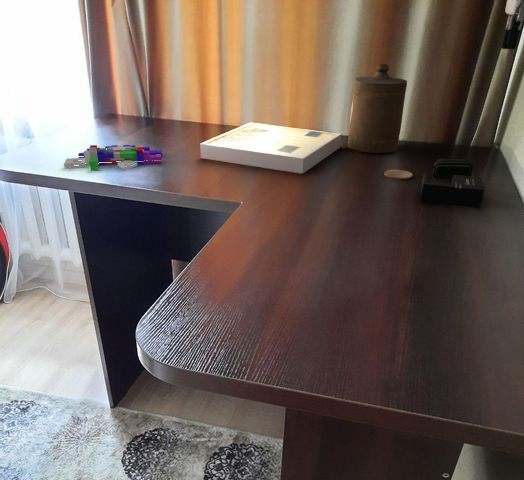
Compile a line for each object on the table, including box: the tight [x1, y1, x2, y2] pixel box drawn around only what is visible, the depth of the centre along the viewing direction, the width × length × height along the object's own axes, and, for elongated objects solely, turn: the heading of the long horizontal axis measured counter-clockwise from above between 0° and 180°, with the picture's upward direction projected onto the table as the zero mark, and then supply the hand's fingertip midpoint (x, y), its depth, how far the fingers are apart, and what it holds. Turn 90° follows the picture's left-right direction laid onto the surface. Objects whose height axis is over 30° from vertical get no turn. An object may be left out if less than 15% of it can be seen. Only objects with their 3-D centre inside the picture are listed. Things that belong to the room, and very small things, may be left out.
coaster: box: [383, 169, 413, 180], centre depth 130 cm, size 7×7×1 cm
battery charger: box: [419, 171, 485, 209], centre depth 115 cm, size 13×10×4 cm
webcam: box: [429, 158, 474, 184], centre depth 124 cm, size 9×6×6 cm
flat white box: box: [199, 122, 343, 175], centre depth 145 cm, size 30×4×30 cm
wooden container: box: [347, 63, 408, 154], centre depth 146 cm, size 15×15×22 cm
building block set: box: [63, 144, 163, 172], centre depth 137 cm, size 25×20×4 cm
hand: (507, 48), depth 127 cm, fingers closed
